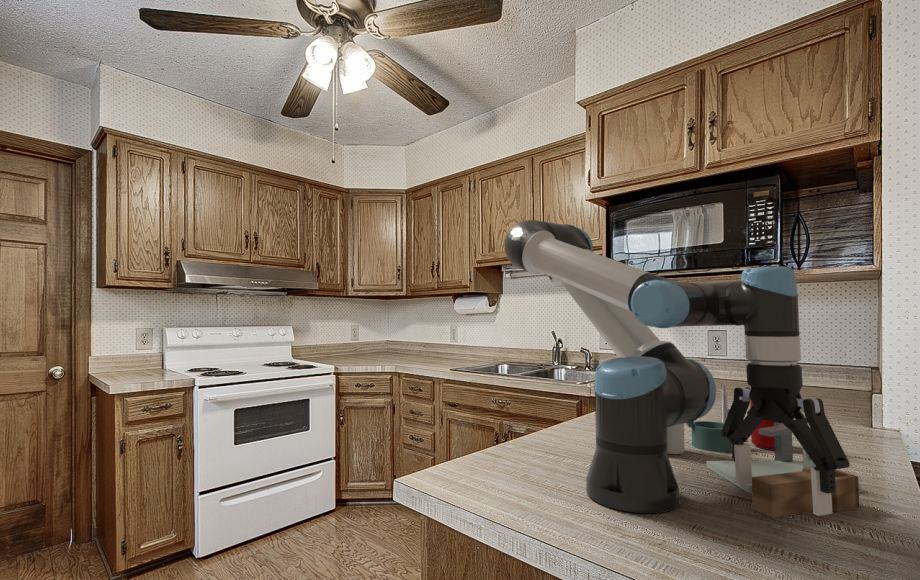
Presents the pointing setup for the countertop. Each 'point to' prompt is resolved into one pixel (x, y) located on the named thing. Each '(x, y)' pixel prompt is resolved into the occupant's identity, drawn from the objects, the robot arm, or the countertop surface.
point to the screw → (723, 402)
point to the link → (800, 493)
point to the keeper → (780, 441)
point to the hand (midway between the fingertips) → (780, 497)
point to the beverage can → (763, 440)
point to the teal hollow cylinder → (709, 436)
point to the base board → (755, 470)
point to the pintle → (807, 460)
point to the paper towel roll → (675, 439)
